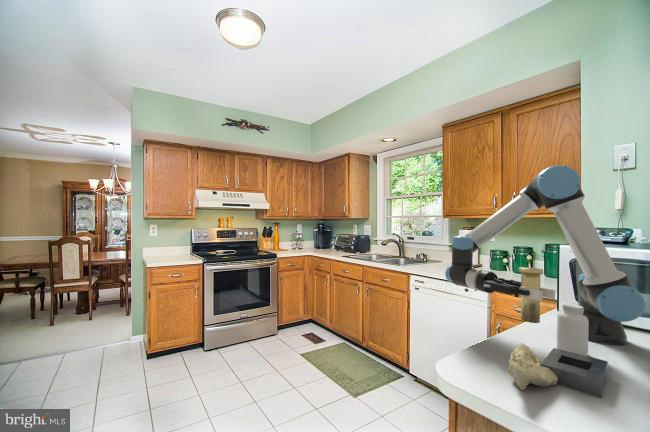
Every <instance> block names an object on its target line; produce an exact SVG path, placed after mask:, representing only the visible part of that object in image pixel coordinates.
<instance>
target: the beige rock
mask: <svg viewBox="0 0 650 432" xmlns="http://www.w3.org/2000/svg"><path fill="white" fill-rule="evenodd" d="M508 364H509V366H508V368H507V372H508V373H509V375H510V376H511V377H512V379H513V380H514V381H515V384H516V386H517V387H518V388H519V389H520V390H521V391H524V390H525V389H527V386H528V385H529V384H533V385H536V386H537V387H541V388H545V387H548V386H553V385H557V384H556V383H557V381H558V377H557V376H556V375H555V373H554V372H552V371H551V370H550V369H549V368H546V367H542V366H541V362H540V361H539V359H538V357H537V356H536V354H535V353H534V351H532V350H531V349H530V348H529V346H527V345H526V344H525V343H523V342H522V343H519V344H518V345H517V346H516V347H515V349H514V350H512V352H511V353H510V355H509V360H508Z"/></svg>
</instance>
